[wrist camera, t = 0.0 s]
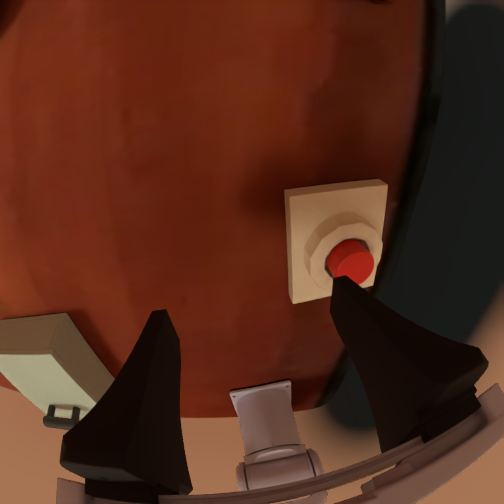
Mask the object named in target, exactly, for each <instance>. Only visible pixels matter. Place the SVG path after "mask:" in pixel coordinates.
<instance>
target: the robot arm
mask: <svg viewBox="0 0 504 504" xmlns="http://www.w3.org/2000/svg"><path fill="white" fill-rule="evenodd" d="M330 313H331V316H332V319H333V321H334V324H335V327H336V329H337V332H338V334H339V336H340V337H341V339H342V341H343V343H344V345H345V347H346V349H347V351H348V353H349V355H350V357H351V359H352V361H353V362H354V364H355V366H356V369H357V371H358V373H359V375H360V378H361V380H362V383H363V386H364V389H365V392H366V395H367V398H368V401H369V404H370V407H371V410H372V414H373V418H374V421H375V425H376V429H377V434H378V438H379V443H380V449H381V452H382V454H380V455H377V456H375V457H372V458H370V459H367V460H365V461H362V462H359V463H356V464H354V465H351V466H348V467H345V468H342V469H339V470H336V471H333V472H329V473H326V474H324V470H323V467H322V463H321V461H320V458H319V456H318V454H317V452H315V451H314V450H312V449H306V447H305V444H302V442H301V439H300V435H299V432H298V428H297V425H296V421H295V418H294V414H293V411H292V407H291V381H290V380H286V381H282V382H277V383H273V384H268V385H263V386H258V387H252V388H247V389H241V390H235V391H231V392H230V397H231V399H232V402H233V405H234V407H235V410H236V412H237V415H238V417H239V422H240V427H241V433H242V439H243V445H244V451H245V456H244V462H245V463H244V462H241V463H239V465H238V466H237V467H236V478H237V484H238V489H239V492H231V493H220V494H205V495H188V494H189V493H190V492H191V491H192V490H193V487H192V484H191V479H190V475H189V471H188V466H187V461H186V455H185V450H184V443H183V436H182V429H181V420H180V374H181V354H180V341H179V338H178V336H177V333H176V331H175V329H174V327H173V324H172V322H171V320H170V317H169V315H168V313H167V310H166V309H163V310H157V311H152V313H151V315H150V317H149V319H148V321H147V323H146V325H145V327H144V329H143V331H142V333H141V335H140V337H139V339H138V341H137V343H136V344H135V346H134V348H133V350H132V352H131V354H130V356H129V357H128V359H127V361H126V362H125V364H124V366H123V368H122V369H121V371H120V372H119V374H118V375H117V377H116V378H115V380H114V381H113V383H112V384H111V386H110V387H109V388H108V390H107V391H106V392H105V394H104V395H103V396H102V397H101V399H100V400H99V401H98V402H97V404H96V405H95V406H94V407H93V408H92V409H91V410H90V411H89V412H88V413H87V414H86V415H85V416H84V417H83V418H82V420H81V421H79V422H78V423H77V424H76V425H75V426H74V427H73V428H71V429H70V430H69V431H68V432H67V433H66V434H65V435H63V440H62V446H61V454H60V464H61V466H62V467H64V468H65V469H67V470H69V471H71V472H73V473H75V474H77V475H79V476H81V477H83V478H85V484H83V483H80V482H75V481H71V480H66V479H63V478H57V492H56V504H270V503H275V502H281V501H285V500H290V499H295V498H299V497H303V496H307V495H310V496H309V497H307V498H304V499H299V500H295V501H291V502H286V503H281V504H324V502H325V501H326V499H327V495H328V492H327V490H329V489H332V488H335V487H338V486H341V485H345V484H347V483H350V482H353V481H356V480H359V479H361V478H364V477H367V476H369V475H372V474H374V473H376V472H379V471H381V470H384V469H386V468H388V467H391V466H393V465H395V464H396V466H395V467H394V468H393V469H390V470H388V471H386V472H384V473H382V474H380V475H378V476H376V477H373V478H372V480H370V481H368V482H367V483H364V484H362V485H361V490H362V492H363V494H361V495H358V496H356V497H353V498H350V499H347V500H344V501H341V502H338V503H334V504H415V503H417V502H419V501H421V500H422V499H424V498H425V497H427V496H429V495H430V494H432V493H433V492H435V491H436V490H438V489H440V488H441V487H442V486H444V485H445V484H447V483H448V482H450V481H451V480H452V479H454V478H455V477H456V476H458V475H459V474H461V473H462V472H463V471H464V470H466V469H467V468H468V467H470V466H471V465H472V464H473V463H475V462H476V461H477V460H478V459H479V458H480V457H482V456H483V455H484V454H485V453H486V452H488V451H489V450H490V449H491V448H492V447H493V446H494V445H495V444H496V443H497V442H499V441H500V440H501V439H502V438H503V437H504V393H503V391H502V390H501V388H500V387H499V385H498V383H496V384H494V385H493V386H492V387H490V388H489V389H488V390H486V391H485V392H484V393H482V394H481V395H480V396H479V397H478V398H476V396H475V393H476V391H477V389H476V388H475V386H474V384H475V383H476V382H477V381H478V380H479V378H480V377H481V376H482V374H483V373H484V372H485V370H486V369H487V367H488V363H489V362H488V360H487V359H486V358H485V356H484V355H483V353H482V352H481V350H480V349H479V348H478V347H474V346H470V345H467V344H463V343H459V342H456V341H453V340H451V339H448V338H445V337H443V336H440V335H438V334H435V333H433V332H431V331H429V330H427V329H425V328H423V327H421V326H419V325H417V324H415V323H413V322H411V321H410V320H407V319H406V318H404V317H403V316H401V315H399V314H398V313H396V312H395V311H393V310H392V309H390V308H389V307H388V306H386V305H385V304H383V303H382V302H380V301H379V300H378V299H376V298H375V297H374V296H372V295H371V294H370V293H368V292H367V291H366V290H365V289H363V288H362V287H361V286H359V285H358V284H357V283H356V282H354V281H353V280H352V279H350V278H349V277H348V276H346V275H344V276H339V277H335V278H333V285H332V295H331V305H330Z"/></svg>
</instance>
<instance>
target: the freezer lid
mask: <svg viewBox="0 0 504 504" xmlns="http://www.w3.org/2000/svg"><path fill="white" fill-rule="evenodd" d="M0 372H1V373H2V374H3V375H4V376H5V377H6V378H7V379H8V380H9V381H10V382H11V383H12V384H13V385H14V386H15V387H16V388H17V389H18V390H19V391H20V392H21V393H22V394H23V395H25V396H26V397H27V398H28V399H29V400H30V401H31V402H32V403H33V404H35V405H36V406H37V407H38V408H39V409H41V410H42V411H43V412H44V413H45V414H46V415H47V416H44V418H43V423H44V425H45V426H46V427H50V428H58V429H64V430H70V429H71V428H73V427H74V426H75V425H76V424H77V423H78V422H79V418H83V417H84V416H85V415H86V414H87V413H88V412H89V411H90V410H91V409H92V408H93V407H94V406H95V405H96V404H97V402H98V401H99V399H98V398H97V397H96V396H95V395H94V394H93V393H92V392H91V391H90V390H89V389H88V388H87V387H86V386H85V385H84V384H83V383H82V382H81V381H80V380H79V379H78V378H77V377H76V375H75V374H74V373H73V372H72V371H71V370H70V369H69V368H68V366H67V365H66V364H65V363H64V362H63V361H62V359H61V358H60V357H59V356H58V355H57V353H56V352H55V351H54V350H53V349H31V350H0ZM54 416H61V417H70V418H71V419H69V418H59V417H54Z"/></svg>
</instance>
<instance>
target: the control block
mask: <svg viewBox="0 0 504 504" xmlns="http://www.w3.org/2000/svg"><path fill="white" fill-rule="evenodd" d="M387 189H388V185H387V184H386V183H384V182H383V181H381V180H380V179H373V180H362V181H352V182H343V183H334V184H326V185H317V186H309V187H302V188H294V189H287V190H284V197H285V214H286V233H287V254H288V280H289V295H290V298H291V301H292V303H293V304H296V303H300V302H305V301H309V300H314V299H318V298H323V297H327V296H331V295H332V285H333V278H334V276H333V275H332V273H331V271H330V270H329V268H328V264H327V261H328V256H329V254H330V252H331V251H332V249H333V248H334V247H335V246H336V245H337V244H339V243H340V242H342V241H345V240H350V239H353V240H357V241H359V242H361V243H362V244H363V245H364V247H365V248H366V249H367V250H368V251H369V253H370V254H371V255H372V256H373V258H374V269H373V271H372V273H371V275H370V276H369V277H368V278H367V279H366V280H365V281H364V282H363V283H361V284H359V286H361V287H362V288H364V287H368V286H372V285H373V283H374V278H375V273H376V267H377V264H378V263H379V261H380V257H381V252H382V246H383V243H382V241H381V238H382V231H383V224H384V216H385V208H386V199H387Z"/></svg>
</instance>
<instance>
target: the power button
mask: <svg viewBox="0 0 504 504" xmlns="http://www.w3.org/2000/svg"><path fill="white" fill-rule="evenodd" d="M327 264H328V268H329V270H330V271H331V273H332V275H333V276H334V278H335V277H339V276H344V275H346V276H348V277H349V278H350V279H352V280H353V281H354V282H356V283H357V284H358V285H359V284H361V283H363V282H364V281H365V280H366V279H367V278H368V277H369V276H370V275H371V273H372V271H373V269H374V258H373V256H372V255H371V254H370V253H369V251H368V250H367V249H366V248H365V247H364V245H363V244H362V243H361V242H359V241H357V240H353V239H350V240H345V241H342V242H340V243H339V244H337V245H336V246H335V247H334V248H333V249H332V251H331V252H330V254H329V256H328V261H327Z"/></svg>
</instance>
